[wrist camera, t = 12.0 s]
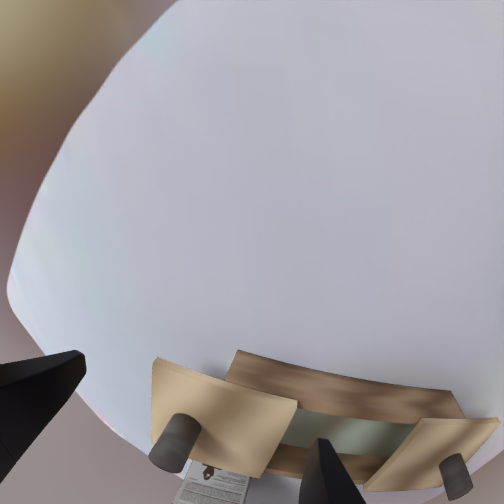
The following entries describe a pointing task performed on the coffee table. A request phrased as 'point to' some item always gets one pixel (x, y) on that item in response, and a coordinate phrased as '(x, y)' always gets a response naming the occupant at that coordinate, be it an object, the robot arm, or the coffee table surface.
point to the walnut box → (340, 413)
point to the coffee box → (212, 486)
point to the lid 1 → (213, 421)
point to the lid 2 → (434, 456)
